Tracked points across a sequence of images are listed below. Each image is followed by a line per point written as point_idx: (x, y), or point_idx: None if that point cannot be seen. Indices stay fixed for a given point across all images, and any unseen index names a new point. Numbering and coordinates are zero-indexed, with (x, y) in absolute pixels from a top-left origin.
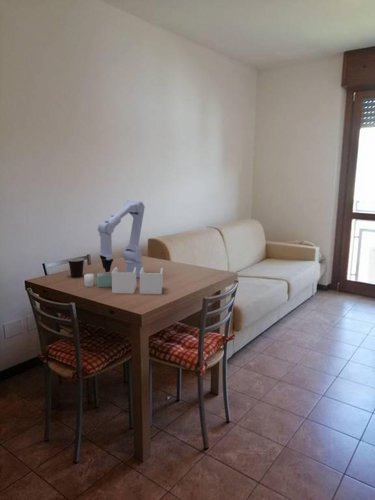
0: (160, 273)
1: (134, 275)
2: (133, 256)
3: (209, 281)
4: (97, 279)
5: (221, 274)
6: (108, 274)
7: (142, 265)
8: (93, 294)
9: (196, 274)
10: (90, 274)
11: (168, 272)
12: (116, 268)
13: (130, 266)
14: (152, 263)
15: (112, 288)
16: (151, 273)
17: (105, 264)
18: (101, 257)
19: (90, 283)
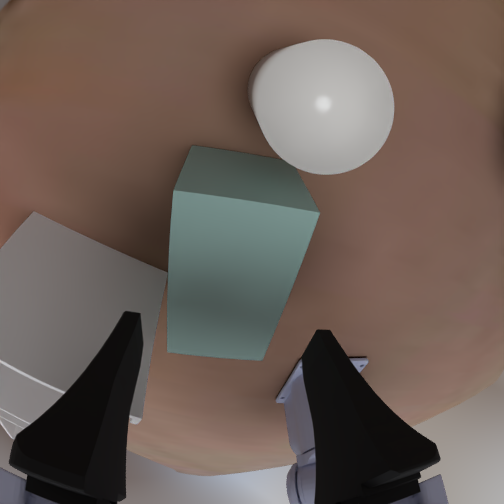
0: (11, 437)
1: (28, 396)
2: (302, 492)
3: (149, 454)
4: (221, 175)
5: (199, 471)
6: (217, 310)
7: (292, 449)
8: (30, 79)
9: (223, 459)
10: (332, 132)
11: (284, 440)
12: (132, 407)
13: (312, 428)
14: (404, 418)
15: (17, 233)
16: (3, 427)
17: (69, 405)
18: (374, 464)
19: (249, 91)
